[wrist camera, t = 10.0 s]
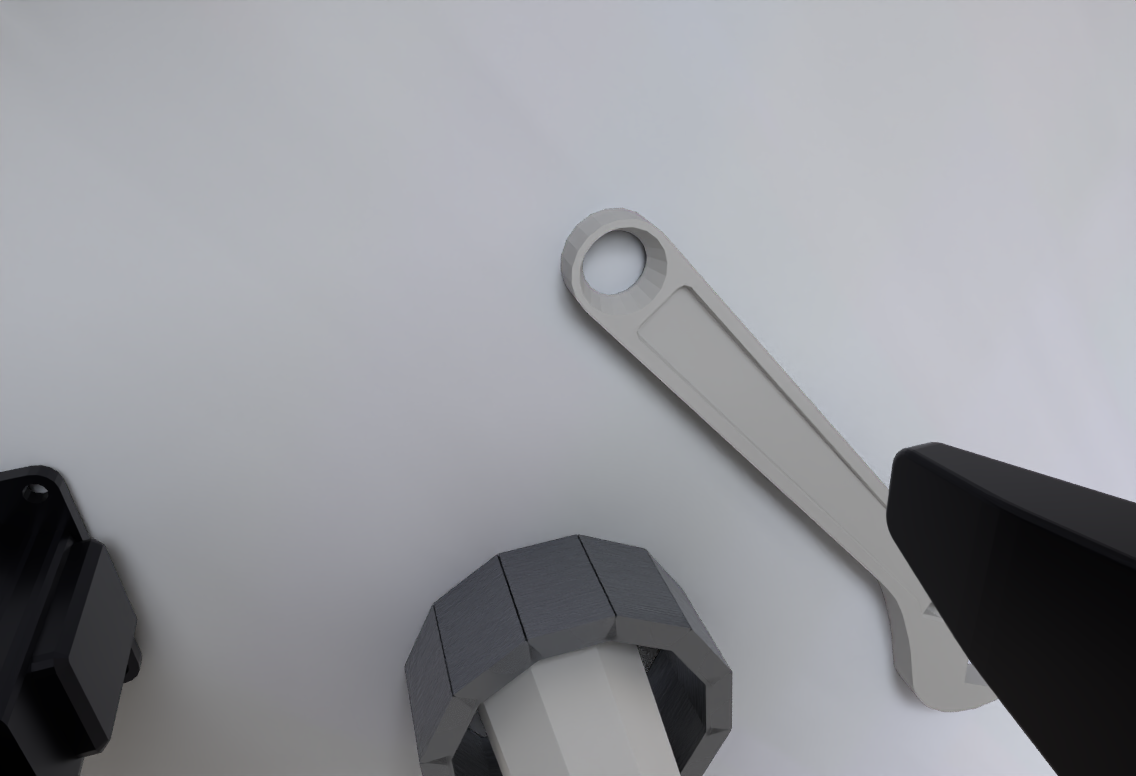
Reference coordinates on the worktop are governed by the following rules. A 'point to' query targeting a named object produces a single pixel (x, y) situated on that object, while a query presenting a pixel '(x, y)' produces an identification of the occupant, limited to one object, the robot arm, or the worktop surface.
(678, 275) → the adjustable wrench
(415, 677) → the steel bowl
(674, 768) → the salt shaker
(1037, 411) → the worktop surface
